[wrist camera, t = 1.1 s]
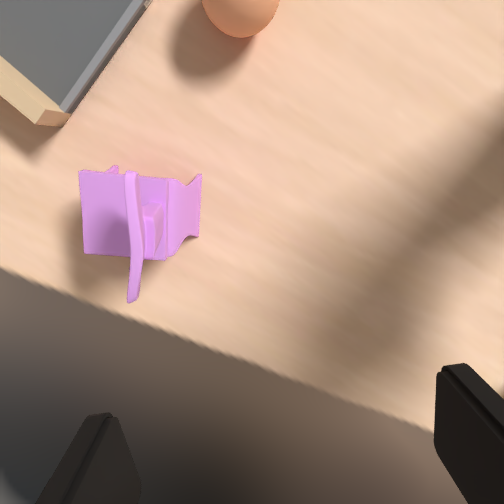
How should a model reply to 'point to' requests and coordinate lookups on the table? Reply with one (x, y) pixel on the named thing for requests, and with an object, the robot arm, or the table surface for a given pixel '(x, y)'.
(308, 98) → the table surface
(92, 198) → the toy chair
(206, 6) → the ball
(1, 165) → the table surface
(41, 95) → the lane
